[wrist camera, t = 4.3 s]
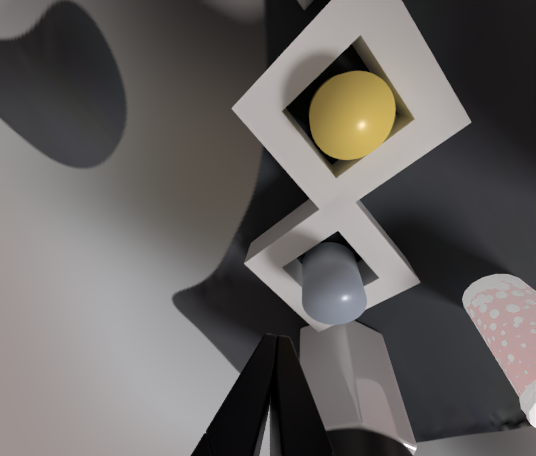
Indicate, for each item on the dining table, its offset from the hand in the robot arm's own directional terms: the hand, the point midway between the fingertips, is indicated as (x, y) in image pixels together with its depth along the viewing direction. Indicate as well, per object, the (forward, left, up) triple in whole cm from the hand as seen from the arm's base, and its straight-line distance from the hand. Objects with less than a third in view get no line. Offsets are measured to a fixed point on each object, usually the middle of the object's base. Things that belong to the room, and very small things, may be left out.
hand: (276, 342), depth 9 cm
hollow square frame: (-6, -3, -13) cm, 15 cm away
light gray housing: (+1, +5, -13) cm, 14 cm away
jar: (+7, +15, -13) cm, 21 cm away
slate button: (+1, +5, -11) cm, 12 cm away
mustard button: (-6, -3, -12) cm, 14 cm away
